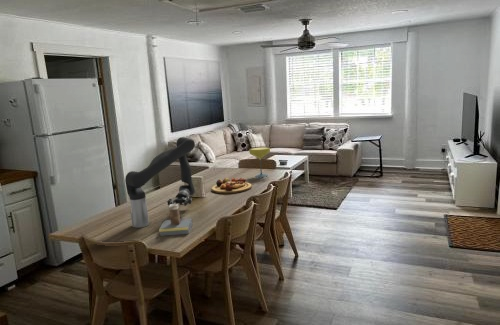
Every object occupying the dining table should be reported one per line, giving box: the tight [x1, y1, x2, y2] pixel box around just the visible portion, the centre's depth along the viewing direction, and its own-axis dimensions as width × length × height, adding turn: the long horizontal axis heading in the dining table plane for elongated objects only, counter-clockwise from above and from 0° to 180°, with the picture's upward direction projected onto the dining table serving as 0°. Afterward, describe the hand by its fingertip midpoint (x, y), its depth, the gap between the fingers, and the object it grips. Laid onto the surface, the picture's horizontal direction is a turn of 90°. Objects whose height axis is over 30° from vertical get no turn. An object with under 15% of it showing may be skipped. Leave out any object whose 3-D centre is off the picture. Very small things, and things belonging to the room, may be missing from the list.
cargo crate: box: [168, 203, 181, 225], centre depth 215 cm, size 4×4×11 cm
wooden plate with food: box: [211, 177, 252, 195], centre depth 299 cm, size 32×32×8 cm
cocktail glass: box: [248, 146, 271, 178], centre depth 332 cm, size 18×18×25 cm
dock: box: [158, 218, 193, 237], centre depth 216 cm, size 16×15×4 cm
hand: (177, 204), depth 224 cm, fingers open, 8 cm apart
